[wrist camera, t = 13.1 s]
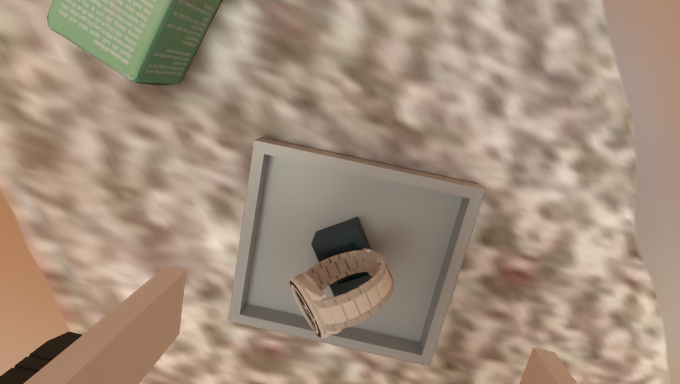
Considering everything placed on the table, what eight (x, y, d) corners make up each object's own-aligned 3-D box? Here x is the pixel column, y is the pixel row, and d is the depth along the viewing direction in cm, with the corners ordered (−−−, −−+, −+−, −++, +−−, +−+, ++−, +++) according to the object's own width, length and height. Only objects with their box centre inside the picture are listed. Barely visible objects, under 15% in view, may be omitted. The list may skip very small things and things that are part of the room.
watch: (297, 238, 36) (267, 297, 25) (375, 210, 35) (379, 260, 24) (319, 288, 37) (300, 365, 26) (396, 262, 36) (408, 332, 25)
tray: (425, 349, 38) (429, 366, 36) (236, 307, 39) (228, 321, 36) (476, 183, 34) (485, 189, 31) (262, 137, 34) (254, 140, 32)
